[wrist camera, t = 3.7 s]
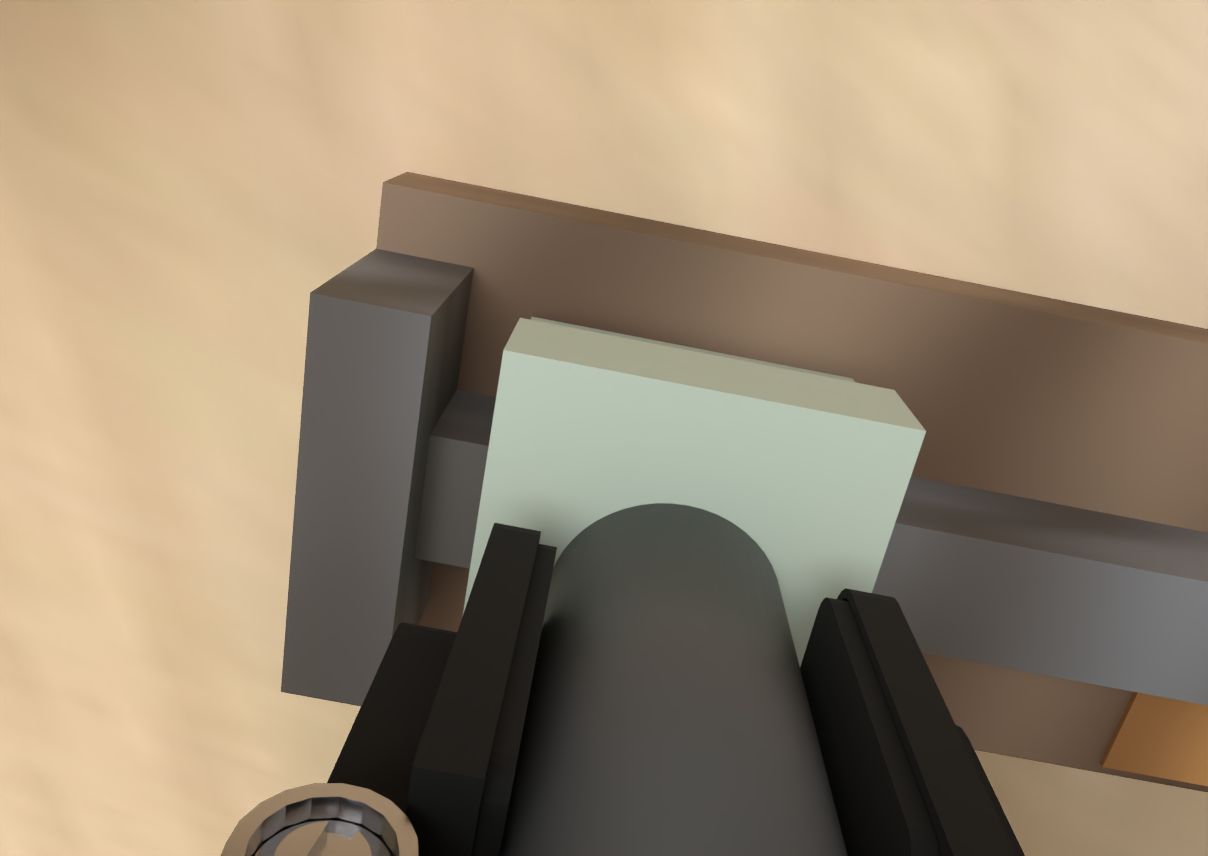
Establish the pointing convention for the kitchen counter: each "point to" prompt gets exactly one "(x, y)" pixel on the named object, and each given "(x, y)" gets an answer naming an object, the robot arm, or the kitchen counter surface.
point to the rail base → (813, 342)
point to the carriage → (682, 585)
